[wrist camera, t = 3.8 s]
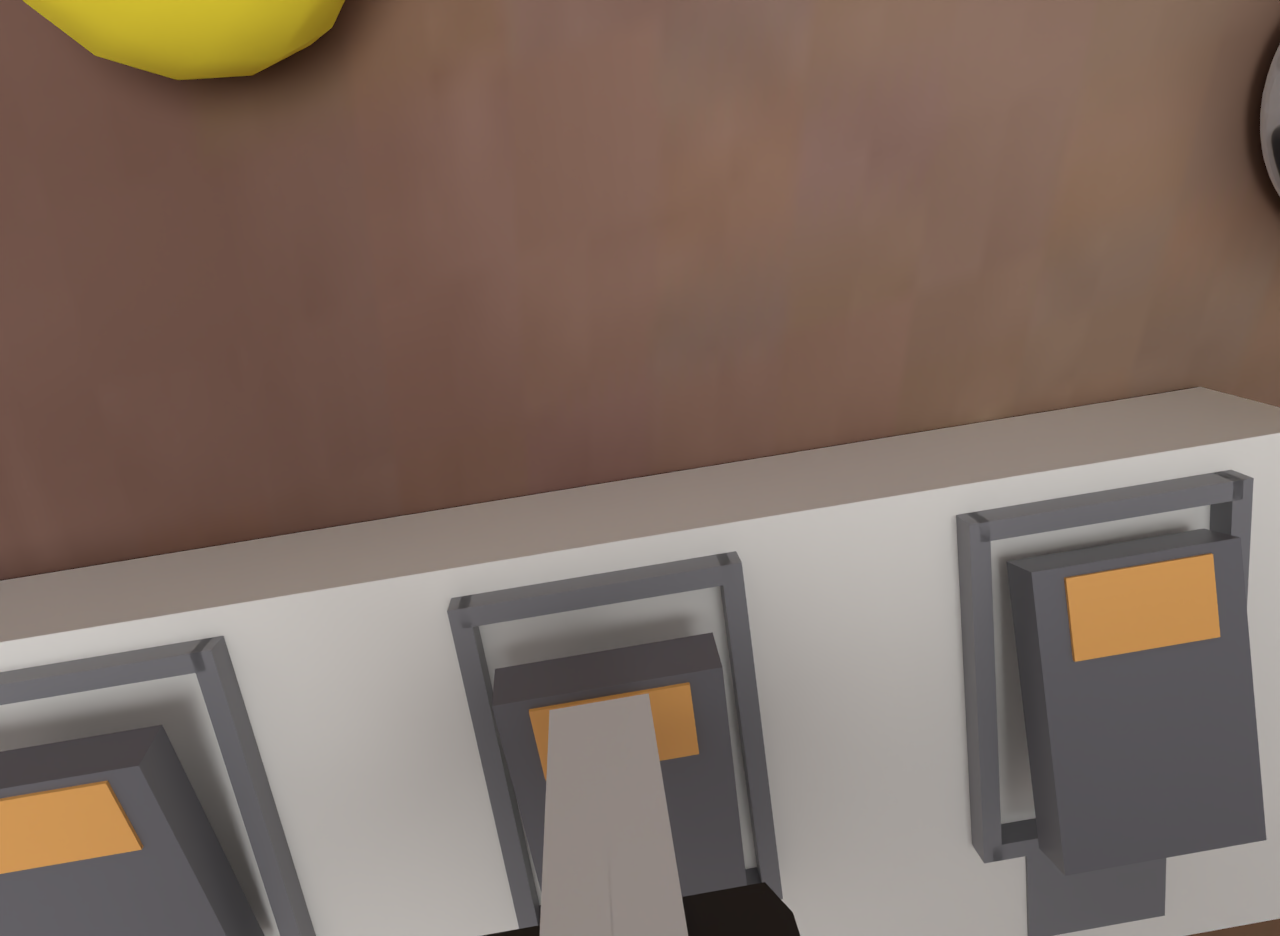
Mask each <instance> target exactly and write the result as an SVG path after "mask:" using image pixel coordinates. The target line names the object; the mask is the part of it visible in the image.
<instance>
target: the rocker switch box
mask: <svg viewBox="0 0 1280 936" xmlns="http://www.w3.org/2000/svg"><path fill="white" fill-rule="evenodd" d="M1198 529H1208V530H1212V531H1216V532H1220V533H1224V534H1229V535H1233V536H1237V537H1241V546H1242V558H1243V570H1244V581H1245V593H1246V605H1247V617H1248V628H1249V640H1250V652H1251V663H1252V675H1253V687H1254V699H1255V710H1256V722H1257V734H1258V745H1259V757H1260V769H1261V781H1262V792H1263V804H1264V816H1265V828H1266V839H1267V840H1264V841H1258V842H1253V843H1247V844H1241V845H1236V846H1230V847H1224V848H1219V849H1213V850H1208V851H1202V852H1196V853H1191V854H1185V855H1180V856H1174V857H1168V858H1163V859H1157V860H1151V861H1146V862H1140V863H1135V864H1129V865H1123V866H1118V867H1112V868H1106V869H1101V870H1095V871H1090V872H1084V873H1078V874H1073V875H1067V876H1065V875H1064V874H1063V873H1062V872H1061V871H1060V870H1059V869H1058V868H1057V867H1056V866H1055V864H1054V863H1053V862H1052V861H1051V860H1050V859H1049V858H1048V857H1047V856H1046V855H1045V854H1044V853H1043V852H1042V851H1041V850H1040V849H1039V842H1038V833H1037V825H1036V816H1035V807H1034V799H1033V790H1032V781H1031V772H1030V764H1029V755H1028V746H1027V737H1026V729H1025V720H1024V711H1023V703H1022V694H1021V685H1020V676H1019V668H1018V659H1017V650H1016V641H1015V633H1014V624H1013V615H1012V607H1011V598H1010V589H1009V580H1008V572H1007V563H1006V561H1012V560H1018V559H1024V558H1030V557H1036V556H1042V555H1048V554H1054V553H1060V552H1066V551H1072V550H1078V549H1084V548H1090V547H1096V546H1102V545H1108V544H1114V543H1120V542H1126V541H1132V540H1138V539H1144V538H1150V537H1156V536H1162V535H1168V534H1174V533H1180V532H1186V531H1192V530H1198ZM712 632H713V636H714V639H715V643H716V646H717V650H718V653H719V657H720V660H721V664H722V667H723V676H724V685H725V694H726V703H727V712H728V721H729V729H730V738H731V747H732V756H733V765H734V774H735V783H736V792H737V801H738V809H739V818H740V827H741V836H742V845H743V854H744V863H745V872H746V881H747V885H751V884H757V883H763V882H765V883H766V884H767V885H768V886H769V887H770V888H771V889H772V890H773V891H774V892H775V894H776V895H777V896H778V897H779V898H780V899H781V900H782V901H783V902H784V903H785V904H786V905H787V907H788V908H789V909H790V910H791V911H792V912H793V914H794V917H795V921H796V924H797V927H798V930H799V933H800V936H1186V935H1192V934H1197V933H1203V932H1208V931H1214V930H1219V929H1225V928H1230V927H1236V926H1241V925H1247V924H1252V923H1258V922H1263V921H1269V920H1274V919H1280V407H1277V406H1273V405H1269V404H1265V403H1261V402H1257V401H1253V400H1250V399H1246V398H1242V397H1238V396H1234V395H1230V394H1227V393H1223V392H1219V391H1215V390H1211V389H1207V388H1204V387H1196V388H1190V389H1184V390H1178V391H1172V392H1165V393H1159V394H1153V395H1147V396H1141V397H1135V398H1128V399H1122V400H1116V401H1110V402H1104V403H1097V404H1091V405H1085V406H1079V407H1073V408H1066V409H1060V410H1054V411H1048V412H1042V413H1035V414H1029V415H1023V416H1017V417H1011V418H1005V419H998V420H992V421H986V422H980V423H974V424H967V425H961V426H955V427H949V428H943V429H936V430H930V431H924V432H918V433H912V434H906V435H899V436H893V437H887V438H881V439H875V440H868V441H862V442H856V443H850V444H844V445H837V446H831V447H825V448H819V449H813V450H807V451H800V452H794V453H788V454H782V455H776V456H769V457H763V458H757V459H751V460H745V461H738V462H732V463H726V464H720V465H714V466H707V467H701V468H695V469H689V470H683V471H677V472H670V473H664V474H658V475H652V476H646V477H639V478H633V479H627V480H621V481H615V482H608V483H602V484H596V485H590V486H584V487H578V488H571V489H565V490H559V491H553V492H547V493H540V494H534V495H528V496H522V497H516V498H509V499H503V500H497V501H491V502H485V503H479V504H472V505H466V506H460V507H454V508H448V509H441V510H435V511H429V512H423V513H417V514H410V515H404V516H398V517H392V518H386V519H379V520H373V521H367V522H361V523H355V524H349V525H342V526H336V527H330V528H324V529H318V530H311V531H305V532H299V533H293V534H287V535H280V536H274V537H268V538H262V539H256V540H250V541H243V542H237V543H231V544H225V545H219V546H212V547H206V548H200V549H194V550H188V551H181V552H175V553H169V554H163V555H157V556H150V557H144V558H138V559H132V560H126V561H120V562H113V563H107V564H101V565H95V566H89V567H82V568H76V569H70V570H64V571H58V572H51V573H45V574H39V575H33V576H27V577H21V578H14V579H8V580H2V581H0V752H1V751H7V750H13V749H19V748H25V747H31V746H37V745H43V744H49V743H55V742H61V741H67V740H73V739H79V738H85V737H91V736H97V735H103V734H109V733H115V732H121V731H127V730H133V729H139V728H145V727H151V726H157V725H163V727H164V729H165V731H166V733H167V736H168V738H169V740H170V742H171V744H172V746H173V748H174V750H175V752H176V754H177V756H178V758H179V760H180V762H181V764H182V766H183V768H184V771H185V773H186V775H187V777H188V779H189V781H190V783H191V785H192V787H193V789H194V791H195V793H196V795H197V797H198V799H199V801H200V803H201V806H202V808H203V810H204V812H205V814H206V816H207V818H208V820H209V822H210V824H211V826H212V828H213V830H214V832H215V834H216V836H217V838H218V841H219V843H220V845H221V847H222V849H223V851H224V853H225V855H226V857H227V859H228V861H229V863H230V865H231V867H232V869H233V871H234V873H235V876H236V878H237V880H238V882H239V884H240V886H241V888H242V890H243V892H244V894H245V896H246V898H247V900H248V902H249V904H250V906H251V908H252V910H253V913H254V915H255V917H256V919H257V921H258V923H259V925H260V927H261V929H262V931H263V933H264V935H265V936H482V935H488V934H493V933H499V932H505V931H510V930H516V929H521V928H527V927H533V926H538V925H540V914H541V889H540V886H539V882H538V878H537V874H536V871H535V867H534V863H533V859H532V856H531V852H530V848H529V844H528V841H527V837H526V833H525V829H524V825H523V822H522V818H521V814H520V810H519V807H518V803H517V799H516V795H515V792H514V788H513V784H512V780H511V776H510V773H509V769H508V765H507V761H506V758H505V754H504V750H503V746H502V743H501V739H500V735H499V731H498V728H497V724H496V720H495V716H494V712H493V709H492V698H493V686H494V674H495V669H497V668H503V667H509V666H515V665H521V664H527V663H533V662H539V661H545V660H551V659H557V658H563V657H569V656H575V655H581V654H587V653H593V652H599V651H605V650H611V649H617V648H623V647H629V646H635V645H641V644H647V643H653V642H659V641H665V640H671V639H677V638H683V637H689V636H695V635H701V634H706V633H712Z"/></svg>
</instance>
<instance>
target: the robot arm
mask: <svg viewBox="0 0 1280 936" xmlns="http://www.w3.org/2000/svg"><path fill="white" fill-rule="evenodd" d="M482 936H800V933H799V930H798V927H797V924H796V921H795V917H794V914H793V912H792V911H791V910H790V909H789V908H788V907H787V905H786V904H785V903H784V902H783V901H782V900H781V899H780V898H779V897H778V896H777V895H776V894H775V892H774V891H773V890H772V889H771V888H770V887H769V886H768V885H767V884H766V883H765V882H763V883H757V884H751V885H746V886H740V887H735V888H729V889H723V890H718V891H712V892H707V893H701V894H695V895H690V896H684V897H682V894H681V888H680V882H679V876H678V870H677V864H676V858H675V852H674V845H673V839H672V833H671V827H670V821H669V815H668V809H667V803H666V796H665V790H664V784H663V778H662V772H661V766H660V760H659V754H658V748H657V741H656V735H655V729H654V723H653V717H652V711H651V705H650V699H649V693H647V694H641V695H635V696H630V697H624V698H618V699H612V700H606V701H600V702H594V703H589V704H583V705H577V706H571V707H565V708H559V709H553V710H549V733H548V755H547V778H546V801H545V823H544V846H543V869H542V891H541V914H540V925H538V926H533V927H527V928H521V929H516V930H510V931H505V932H499V933H493V934H488V935H482Z"/></svg>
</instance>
